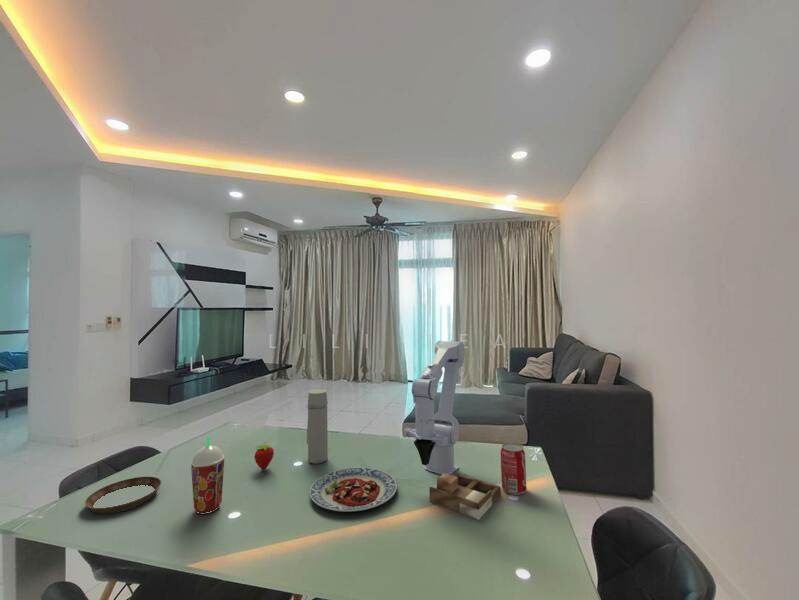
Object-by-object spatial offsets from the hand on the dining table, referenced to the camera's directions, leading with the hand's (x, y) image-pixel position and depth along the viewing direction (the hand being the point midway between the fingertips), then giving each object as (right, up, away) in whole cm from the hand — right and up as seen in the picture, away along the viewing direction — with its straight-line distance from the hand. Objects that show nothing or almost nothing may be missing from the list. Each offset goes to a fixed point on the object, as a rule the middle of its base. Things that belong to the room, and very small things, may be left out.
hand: (425, 463), depth 108 cm
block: (+6, -5, -5) cm, 9 cm away
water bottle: (-38, -9, +23) cm, 45 cm away
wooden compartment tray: (+11, -8, -5) cm, 15 cm away
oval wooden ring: (-88, -9, -4) cm, 89 cm away
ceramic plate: (-21, -9, -1) cm, 23 cm away
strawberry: (-54, -9, +15) cm, 57 cm away
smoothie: (-61, -9, -9) cm, 62 cm away
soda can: (+26, -8, -1) cm, 28 cm away
